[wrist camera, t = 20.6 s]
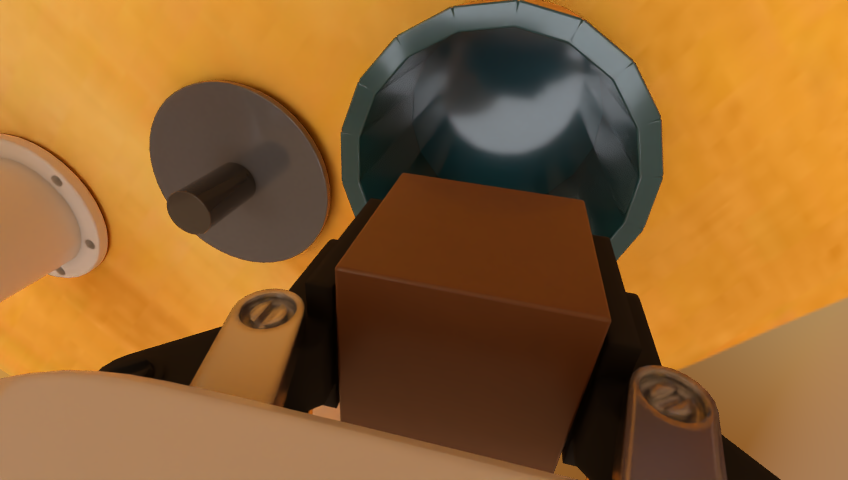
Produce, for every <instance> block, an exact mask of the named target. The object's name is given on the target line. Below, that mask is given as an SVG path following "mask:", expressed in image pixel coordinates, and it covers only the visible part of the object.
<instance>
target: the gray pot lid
mask: <svg viewBox="0 0 848 480" xmlns="http://www.w3.org/2000/svg"><path fill="white" fill-rule="evenodd" d="M150 157H151V163H152V167H153V172H154V174H155V177H156V180H157V183H158V185H159V187H160V189H161V191H162V194H163V195H164V197H165V199H166V200H167V210H168V213H169V215H170V217H171V219H172V220H173V222H174V223H175V224H176V225H177V226H178V227H179V228H181V229H182V230H184V231H186V232H188V233H191V234H196V235H197V236H198V237H199V238H201V239H202V240H203V241H205V242H206V243H208V244H209V245H211V246H212V247H214V248H216V249H218V250H220V251H221V252H224V253H226V254H228V255H231V256H233V257H236V258H239V259H243V260H247V261H252V262H262V263H265V262H277V261H283V260H286V259H289V258H292V257H294V256H296V255H298V254H300V253H301V252H303V251H304V250H306V249H307V248H308V247H309V246H310V245H311V244H312V243H313V242H314V241H315V240H316V239H317V237H318V236H319V234H320V233H321V231H322V230H323V227H324V225H325V223H326V221H327V217H328V214H329V208H330V184H329V177H328V173H327V170H326V166H325V163H324V161H323V158H322V156H321V153H320V151H319V149H318V148H317V146H316V144H315V142H314V140H313V139H312V137H311V136H310V134H309V133H308V132H307V130H306V129H305V128H304V126H303V125H302V124H301V123H300V122H299V121H298V119H297V118H296V117H295V116H294V115H293V114H292V113H291V112H289V111H288V110H287V109H286V108H285V107H284V106H282V105H281V104H280V103H278V102H277V101H276V100H274V99H273V98H271V97H270V96H268V95H266V94H264V93H263V92H261V91H259V90H256V89H254V88H252V87H250V86H247V85H243V84H240V83H237V82H231V81H225V80H208V81H202V82H197V83H194V84H191V85H188V86H185V87H183V88H181V89H179V90H178V91H176V92H174V93H173V94H172V95H171V96H170V97H168V98H167V99H166V100H165V102H164V103H163V104H162V105H161V107H160V108H159V110H158V112H157V114H156V116H155V118H154V121H153V124H152V127H151V133H150Z"/></svg>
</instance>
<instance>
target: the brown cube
mask: <svg viewBox="0 0 848 480" xmlns="http://www.w3.org/2000/svg"><path fill="white" fill-rule="evenodd" d="M335 285H336V312H337V340H338V368H339V396H340V421H342V422H346V423H350V424H354V425H358V426H362V427H367V428H371V429H375V430H379V431H383V432H387V433H391V434H395V435H399V436H403V437H408V438H412V439H416V440H420V441H424V442H428V443H432V444H436V445H440V446H444V447H448V448H452V449H457V450H461V451H465V452H469V453H473V454H477V455H481V456H485V457H489V458H493V459H497V460H501V461H505V462H509V463H513V464H517V465H521V466H525V467H529V468H533V469H537V470H541V471H545V472H549V473H553V474H554V471H555V468H556V466H557V463H558V460H559V458H560V455H561V453H562V450H563V447H564V445H565V442H566V439H567V437H568V434H569V431H570V429H571V426H572V424H573V421H574V418H575V416H576V413H577V410H578V408H579V405H580V402H581V400H582V397H583V395H584V392H585V389H586V387H587V384H588V381H589V379H590V376H591V374H592V371H593V368H594V366H595V363H596V360H597V358H598V355H599V352H600V350H601V347H602V345H603V342H604V339H605V337H606V334H607V331H608V329H609V326H610V323H611V317H610V312H609V308H608V303H607V299H606V295H605V290H604V286H603V281H602V277H601V273H600V268H599V264H598V259H597V255H596V251H595V246H594V242H593V237H592V233H591V229H590V224H589V220H588V215H587V211H586V207H585V202H584V201H583V200H579V199H572V198H566V197H559V196H553V195H546V194H540V193H533V192H527V191H520V190H514V189H507V188H501V187H494V186H488V185H481V184H474V183H468V182H461V181H455V180H448V179H442V178H435V177H429V176H422V175H416V174H409V173H402V174H401V176H400V177H399V178H398V180H397V181H396V183H395V184H394V185H393V187H392V188H391V190H390V191H389V192H388V194H387V195H386V197H385V198H384V199H383V201H382V202H381V204H380V205H379V206H378V208H377V209H376V211H375V212H374V213H373V215H372V216H371V218H370V219H369V221H368V222H367V223H366V225H365V226H364V228H363V229H362V230H361V232H360V233H359V235H358V236H357V237H356V239H355V240H354V242H353V243H352V244H351V246H350V247H349V249H348V250H347V251H346V253H345V254H344V256H343V257H342V258H341V260H340V261H339V263H338V264H337V265H336V267H335Z"/></svg>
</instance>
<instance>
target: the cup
mask: <svg viewBox="0 0 848 480" xmlns="http://www.w3.org/2000/svg"><path fill="white" fill-rule="evenodd" d="M341 165H342V181H343V186H344V189H345V191H346V194H347V197H348V199H349V202H350V205H351V207H352V210H353V213H354V215H355V217H356V216H357V215H358V214H359V212H360V211H361V210H362V208H363V207H364V206H365V205H366V203H367V202H368V201H369V199H371V198H373V199H379V200H383V199H384V198H385V197H386V195H387V194H388V192H389V191H390V190H391V188H392V187H393V185H394V184H395V183H396V181H397V180H398V178H399V177H400V176H401V174H402V173H409V174H416V175H422V176H429V177H435V178H442V179H448V180H455V181H461V182H468V183H474V184H481V185H488V186H494V187H501V188H507V189H514V190H520V191H527V192H533V193H540V194H546V195H553V196H559V197H566V198H572V199H579V200H583V201H584V202H585V207H586V211H587V215H588V220H589V224H590V229H591V233H592V235H598V236H604V237H609V238H610V241H611V244H612V248H613V251H614V255H615V258H616V261H617V259H618V258H619V257H620V256H621V255H622V254H623V253H624V251H625V250H626V249H627V248H628V247H629V246H630V245H631V243H632V242H633V241H634V240H635V239H636V238H637V237H638V235H639V234H640V233H641V232H642V231H643V228H644V227H645V225H646V222H647V219H648V217H649V214H650V211H651V209H652V206H653V203H654V201H655V198H656V195H657V193H658V190H659V187H660V185H661V182H662V179H663V177H662V176H663V147H662V120H661V115H660V113H659V111H658V109H657V107H656V105H655V103H654V101H653V99H652V96H651V94H650V92H649V90H648V88H647V86H646V84H645V82H644V80H643V78H642V76H641V74H640V72H639V70H638V68H637V65H636V63H635V62H633V60H632V59H631V58H630V57H629V56H628V55H627V54H625V53H624V52H623V51H622V50H621V49H619V48H618V47H617V46H616V45H615V44H613V43H612V42H611V41H610V40H609V39H608V38H606V37H605V36H604V35H603V34H602V33H600V32H599V31H598V30H597V29H596V28H594V27H593V26H592V25H591V24H590V23H589V22H587V21H586V20H585V19H583V18H582V17H580V16H578V15H577V14H575V13H573V12H572V11H570V10H568V9H567V8H564V7H563V6H559V5H556V4H553V3H549V2H546V1H543V0H476V1H472V2H468V3H464V4H460V5H455V6H452V7H449V8H447V9H445V10H444V11H442V12H440V13H438V14H436V15H434V16H432V17H430V18H429V19H427V20H425V21H423V22H421V23H419V24H417V25H415V26H414V27H412V28H410V29H408V30H406V31H404V32H402V33H400V34H399V35H397V37H395V38H394V39H393V40H392V41H391V42H390V44H389V45H388V46H387V47H386V48H385V50H384V51H383V52H382V53H381V54H380V55H379V57H378V58H377V59H376V60H375V61H374V63H373V64H372V65H371V66H370V67H369V68H368V70H367V71H366V72H365V73H364V74H363V76H362V77H361V78H360V79H359V82H358V83H357V86H356V89H355V92H354V95H353V98H352V101H351V103H350V106H349V109H348V112H347V115H346V118H345V121H344V124H343V127H342V132H341Z"/></svg>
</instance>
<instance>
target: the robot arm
mask: <svg viewBox="0 0 848 480" xmlns="http://www.w3.org/2000/svg"><path fill="white" fill-rule="evenodd" d="M382 201H383V200H379V199H373V198H371V199H369V201H368V202H367V203H366V205H365V206H364V207H363V208H362V210H361V211H360V212H359V214H358V215H357V216H356V217H355V219H354V220H353V221H352V223H351V224H350V225H349V226H348V228H347V229H346V230H345V232H344V233H343V234H342V235H341V237H340V238H339V239H338V240H335V239H332V240H330V241H329V242H328V243H327V244H326V245H325V246H324V248H323V249H322V250H321V251H320V252H319V254H318V255H317V256H316V257H315V259H314V260H313V261H312V262H311V264H310V265H309V266H308V267H307V269H306V270H305V271H304V272H303V273H302V275H301V276H300V277H299V278H298V280H297V281H296V282H295V283H294V285H293V286H292V287H291V288H290V290H289V291H288V290H283V289H266V290H261V291H257V292H254V293H252V294H249V295H247V296H245V297H244V298H242V299H241V300H239V301H238V302H237V303H236V305H235V306H234V307H233V308H232V310H231V312H230V313H229V315H228V317H227V319H226V321H225V322H224V324H223V326H222V327H219V328H215V329H212V330H209V331H205V332H202V333H199V334H195V335H192V336H189V337H185V338H182V339H179V340H175V341H172V342H169V343H165V344H162V345H159V346H155V347H152V348H149V349H145V350H142V351H139V352H135V353H132V354H129V355H126V356H124V357H121V358H118V359H116V360H114V361H112V362H110V363H109V364H107V365H105V366H104V367H102V368H101V369H100V370H99V371H75V370H61V371H50V372H39V373H28V374H22V375H16V376H11V377H6V378H2V379H0V480H577V479H573V478H569V477H565V476H561V475H557V474H553V473H549V472H545V471H541V470H537V469H533V468H529V467H525V466H521V465H517V464H513V463H509V462H505V461H501V460H497V459H493V458H489V457H485V456H481V455H477V454H473V453H469V452H465V451H461V450H457V449H452V448H448V447H444V446H440V445H436V444H432V443H428V442H424V441H420V440H416V439H412V438H408V437H403V436H399V435H395V434H391V433H387V432H383V431H379V430H375V429H371V428H367V427H362V426H358V425H354V424H350V423H346V422H342V421H338V420H333V419H329V418H325V417H321V416H317V415H313V409H314V408H317V407H319V406H321V405H324V406H328V407H332V408H336V409H337V407H338V404H339V402H340V396H339V368H338V340H337V312H336V285H335V267H336V265H337V264H338V263H339V261H340V260H341V258H342V257H343V256H344V254H345V253H346V251H347V250H348V249H349V247H350V246H351V244H352V243H353V242H354V240H355V239H356V237H357V236H358V235H359V233H360V232H361V230H362V229H363V228H364V226H365V225H366V223H367V222H368V221H369V219H370V218H371V216H372V215H373V213H374V212H375V211H376V209H377V208H378V206H379V205H380V204H381V202H382ZM592 237H593V242H594V246H595V251H596V255H597V259H598V264H599V268H600V273H601V277H602V281H603V286H604V290H605V295H606V299H607V303H608V308H609V312H610V317H611V323H610V326H609V329H608V331H607V334H606V337H605V339H604V342H603V345H602V347H601V350H600V352H599V355H598V358H597V360H596V363H595V366H594V368H593V371H592V374H591V376H590V379H589V381H588V384H587V387H586V389H585V392H584V395H583V397H582V400H581V402H580V405H579V408H578V410H577V413H576V416H575V418H574V421H573V424H572V426H571V429H570V431H569V434H568V437H567V439H566V442H565V445H564V447H563V450H562V459H563V463H565V464H569V465H573V466H577V467H578V468H579V469H580V470H581V471H582V472H583V473H584V474H585V475H586V479H585V480H780V479H779V478H778V477H776V476H775V475H774V474H772V473H771V472H770V471H769V470H767V469H766V468H764V467H763V466H762V465H761V464H759V463H758V462H757V461H755V460H754V459H753V458H751V457H750V456H749V455H748V454H746V453H745V452H744V451H742V450H741V449H740V448H739V447H737V446H736V445H735V444H733V443H732V442H731V441H729V440H728V439H727V438H725V437H724V436H723V435H722V434H721V428H720V420H719V412H718V409H717V407H716V404H715V401H714V400H713V399H712V397H711V396H710V394H709V393H708V392H707V391H706V390H705V389H704V388H703V387H702V386H701V385H700V384H699V383H698V382H696V381H695V380H693V379H691V378H690V377H688V376H687V375H685V374H683V373H681V372H679V371H676V370H674V369H671V368H667V367H663V366H662V365H661V362H660V359H659V356H658V353H657V350H656V347H655V344H654V341H653V338H652V335H651V332H650V329H649V326H648V323H647V320H646V317H645V314H644V311H643V308H642V305H641V302H640V299H639V297H638V295H636V294H633V293H627V292H625V289H624V285H623V282H622V279H621V275H620V272H619V268H618V265H617V262H616V258H615V255H614V251H613V248H612V244H611V241H610V238H609V237H604V236H598V235H592ZM107 247H108V236H107V228H106V225H105V222H104V219H103V215H102V213H101V211H100V209H99V207H98V205H97V203H96V201H95V200H94V198H93V197H92V195H91V194H90V192H89V191H88V189H87V188H86V187H85V185H84V184H83V183H82V182H81V181H80V179H79V178H78V177H77V176H76V175H75V174H74V173H73V172H72V171H71V170H70V169H69V168H68V167H67V166H66V165H65V164H64V163H63V162H61V161H60V160H59V159H57V158H56V157H55V156H53V155H52V154H51V153H49V152H48V151H46V150H44V149H43V148H41V147H39V146H37V145H36V144H34V143H32V142H29V141H27V140H24V139H22V138H20V137H16V136H12V135H7V134H0V302H2V301H3V300H5V299H7V298H8V297H10V296H12V295H14V294H15V293H17V292H19V291H20V290H22V289H24V288H25V287H27V286H29V285H30V284H32V283H34V282H35V281H37V280H39V279H41V278H42V277H44V276H46V275H47V274H48V275H52V276H56V277H64V278H72V277H79V276H82V275H84V274H87V273H88V272H90V271H91V270H93V269H94V268H96V267H97V266H98V265H99V264H100V263H101V262H102V261H103V260H104V257H105V255H106V252H107Z"/></svg>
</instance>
